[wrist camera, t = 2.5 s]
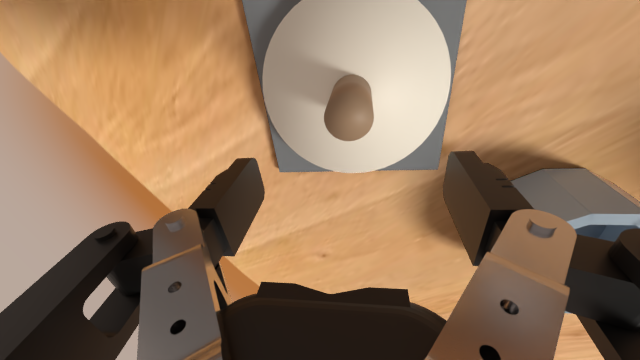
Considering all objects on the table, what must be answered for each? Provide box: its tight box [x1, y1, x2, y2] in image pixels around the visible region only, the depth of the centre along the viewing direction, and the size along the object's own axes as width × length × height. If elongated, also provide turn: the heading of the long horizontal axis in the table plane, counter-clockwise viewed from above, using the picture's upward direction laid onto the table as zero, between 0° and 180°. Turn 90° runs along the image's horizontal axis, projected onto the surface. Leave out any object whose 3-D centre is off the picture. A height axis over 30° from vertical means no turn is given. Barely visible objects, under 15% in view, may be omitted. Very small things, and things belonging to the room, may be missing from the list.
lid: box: [262, 0, 451, 173], centre depth 18 cm, size 14×14×6 cm
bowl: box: [510, 168, 640, 313], centre depth 23 cm, size 12×12×6 cm
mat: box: [242, 0, 467, 172], centre depth 21 cm, size 15×15×1 cm
